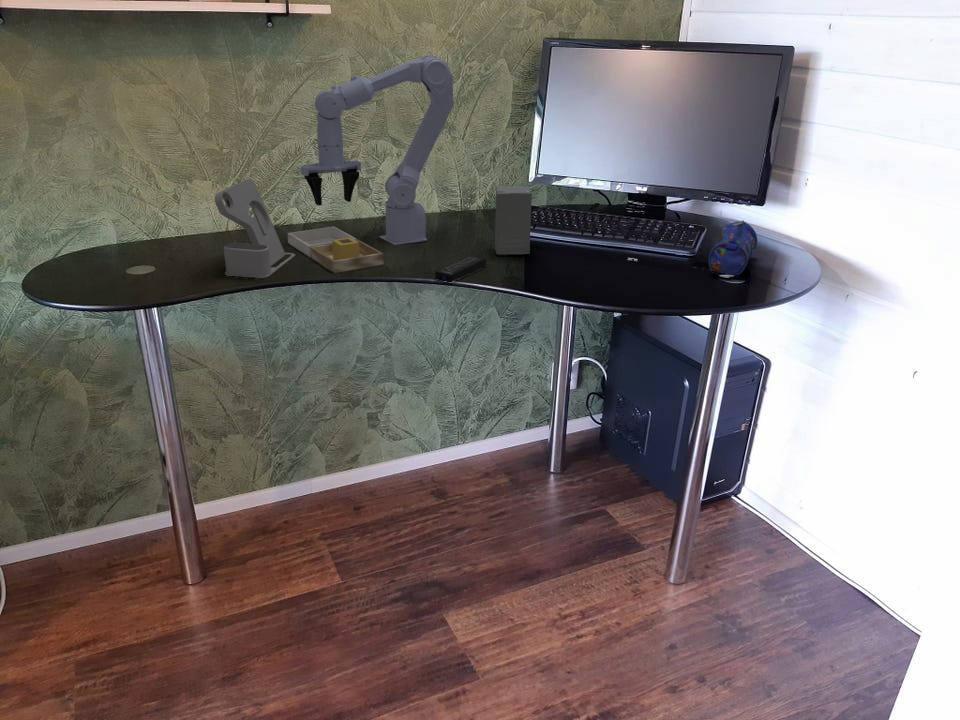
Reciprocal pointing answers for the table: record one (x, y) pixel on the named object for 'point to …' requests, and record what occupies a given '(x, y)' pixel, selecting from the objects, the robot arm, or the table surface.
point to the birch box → (366, 259)
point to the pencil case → (733, 249)
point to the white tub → (315, 238)
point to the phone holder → (250, 233)
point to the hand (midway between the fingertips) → (333, 202)
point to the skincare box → (513, 219)
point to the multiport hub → (460, 268)
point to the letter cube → (345, 248)
